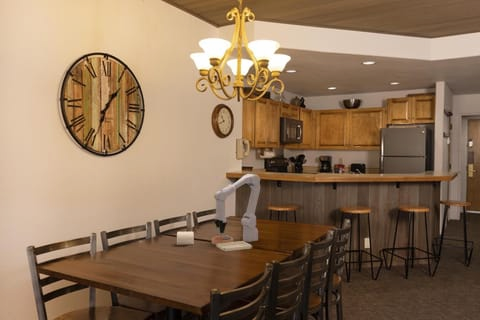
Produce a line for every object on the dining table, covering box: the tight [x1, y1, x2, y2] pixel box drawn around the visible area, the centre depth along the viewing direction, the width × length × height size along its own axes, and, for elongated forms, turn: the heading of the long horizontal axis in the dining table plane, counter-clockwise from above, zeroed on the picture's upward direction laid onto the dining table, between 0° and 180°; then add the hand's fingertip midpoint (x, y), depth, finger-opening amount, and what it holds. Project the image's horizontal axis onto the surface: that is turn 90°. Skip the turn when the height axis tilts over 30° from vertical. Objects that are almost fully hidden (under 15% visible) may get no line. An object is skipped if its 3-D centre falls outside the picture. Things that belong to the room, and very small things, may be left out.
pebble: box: [216, 227, 225, 235], centre depth 240 cm, size 4×4×4 cm
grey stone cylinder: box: [221, 234, 230, 240], centre depth 246 cm, size 4×4×4 cm
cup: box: [176, 231, 195, 246], centre depth 244 cm, size 8×12×10 cm
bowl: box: [211, 235, 234, 246], centre depth 245 cm, size 13×13×4 cm
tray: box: [215, 240, 253, 252], centre depth 233 cm, size 18×13×2 cm
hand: (220, 232), depth 241 cm, fingers closed on pebble, 4 cm apart
